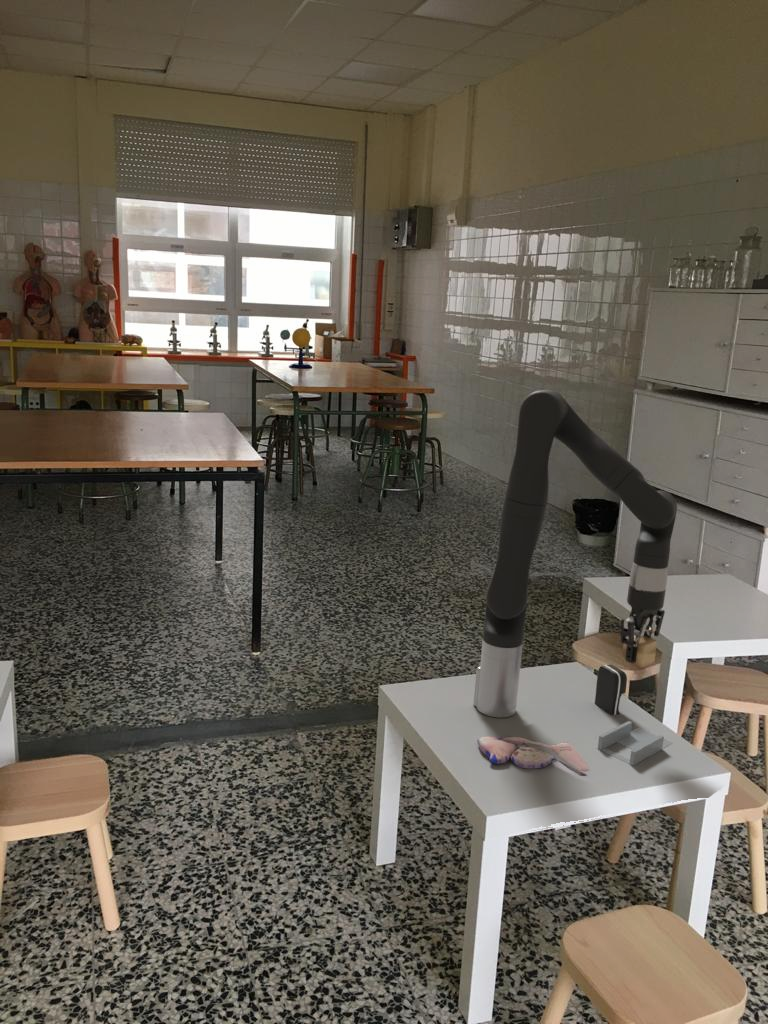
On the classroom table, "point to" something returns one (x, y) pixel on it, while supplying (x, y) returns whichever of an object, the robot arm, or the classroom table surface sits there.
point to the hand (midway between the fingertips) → (637, 658)
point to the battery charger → (610, 688)
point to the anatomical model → (530, 753)
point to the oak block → (643, 651)
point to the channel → (632, 742)
